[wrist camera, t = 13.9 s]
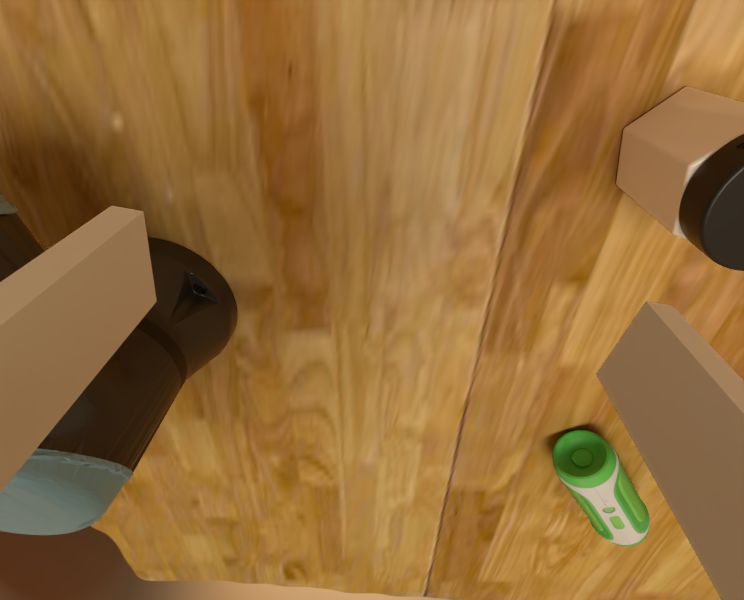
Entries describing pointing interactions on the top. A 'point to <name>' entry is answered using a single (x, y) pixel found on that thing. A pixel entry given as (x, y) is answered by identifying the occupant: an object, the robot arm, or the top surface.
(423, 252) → the top surface
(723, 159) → the jar
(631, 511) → the speaker
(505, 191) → the top surface
